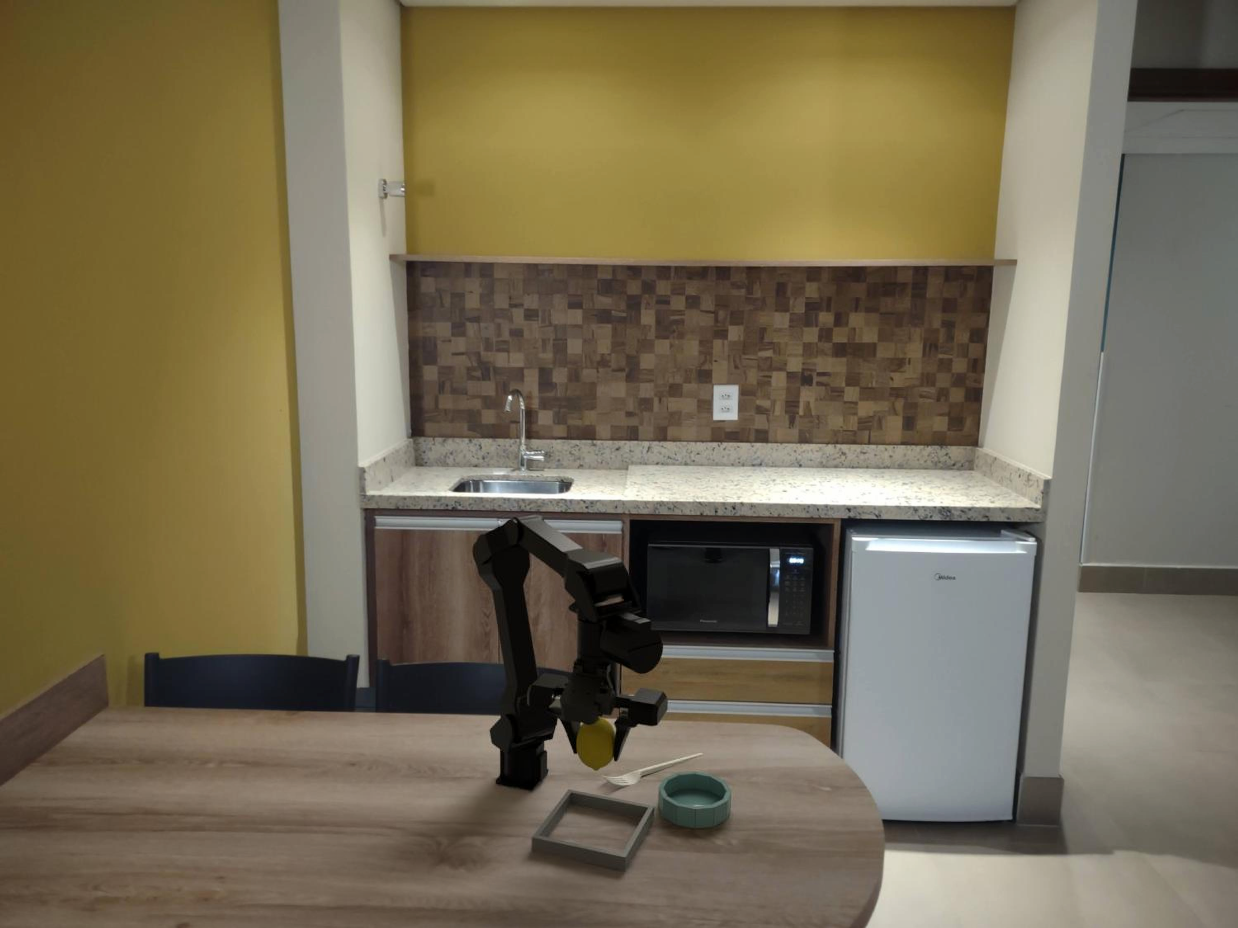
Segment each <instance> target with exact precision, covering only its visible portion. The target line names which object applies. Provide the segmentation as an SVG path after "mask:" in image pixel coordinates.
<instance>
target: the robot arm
mask: <svg viewBox="0 0 1238 928" xmlns="http://www.w3.org/2000/svg"><path fill="white" fill-rule="evenodd" d="M471 550H472V551H471V552H472V558H473V560H474V562H475V565H476V568H477V573H478V575H479V577H480V578H481V580H482V581H483V582H484V583H485V584H486V586H487V587H488V588H489V589H490V590H491V593H492V599H493V604H494V611H495V617H496V618H495V619H496V624H497V630H498V636H499V641H500V643H499V644H500V648H501V655H502V661H503V668H504V674H505V679H506V685H505V688H504V691H503V693H502V696H501V698H500V702H499V714H500V718H499V719H498V720H497V721H496V722H495V724H493V725H492V726H491V728H490V729H489V736H490V742H491V744H492V745H493V746H495V747H496V748H497V749H499V775H498V777H496V779H495V780H494V781H495V782H494V783H495V785H501V786H505V787H510V788H514V789H515V788H516V789H521V790H525V791H530V792H531V791H534V790H535V789H536V788H537V787H538V785H540V783H541V782H542V781H543V780H544V778H546V777H547V775H548V773H549V768H548V751H547V750H546V749H545V742H547V741H551V740H553V739H554V735H555V731H556V728H557V726H558V720H559V721H560V723H561V724H562V727H563V729H564V731H565V734H566V737H567V740H568V742H569V744H570V747H571V750H572V753H573V754H574V755H578V753H577V746H576V741H577V735H578V732H579V729H580V727H581V725H582V724H583V723H584V724H586V725H592V724H595V723H596V722H597V720H598V717H601V718H603V716H611V715H612V714H613V712H614V710H615V709H617V710H619V713H620V714H619V715H618V717H617V718H616V720H615V721H614V723H613V724H614V728H615V743H614V757H613V761H614V762H618V761H619V759H620V757H621V755H622V752H623V749H624V746H625V744H626V743H627V742H626V741H627V739H628V737H629V734H630V731H631V729H634V728H636V727H638V725H641V726H647V727H655V726H658V725H659V723H660V722H661V720H662V718H664V716H665V714H666V712H667V711H668V704H669V703H668V702H669V701H668V700H669V698H668V696H667V694H666V693H665V692H664V691H663V690H657V689H650V688H644V687H639V689H637V690H636V693H634V694H623V693H619V690H620V688H621V685H622V684H621V679H619V665H620V666H622V667H624V668H626V669H627V670H630V671H632V672H633V673H635V674H638V675H645V674H647V673H650V672H652V671H653V670H654V669H655V668H656V667H657V665H658V664H659V662H660V661H661V658H662V656H663V652H664V643H663V641H662V638H661V635H660V634H659V633H658V632H657V631H655V630H653V629H652V621H651V620H650V619H648V618H645V617H640V616H638V615H635V614H636V613H640V612H642V611H643V608H642V604H641V602H640V600H639V599H640V596H639V594H638V592H637V590H636V588H635V587H634V584H633V582H632V579H631V576H630V574H629V572H628V569H627V567H626V565H625V563H624V562H623V561H622V560H621V558H619V557H617V556H614V555H611V554H609V553H607V552H603V551H597V550H590V549H587V548H584V547H582V546H581V545H579V544H578V543H576V542H575V541H573V540H572V539H570V538H569V537H568V536H566V535H565V534H564V533H562V532H560V531H559V530H557V529H556V528H554V527H553V526H552V525H550V524H549V523H547V522H546V521H545V520H544V518H543V516H542V515H540V514H535V513H531V514H524V515H518V516H513V517H511V518H510V519H508V520H507V521H505V522H504V523H503V524H501V525H499V526H498V527H496V528H493V529H492V530H489V531H488V532H486V533H482V534H479V535H478V537H477V539H476V541H475V542H474V544H473V545H472V549H471ZM531 554H532V556H534V557H535V558H536V559H538V560H539V561H540V562H541V563H543V564H545V566H547V567H548V568H549V569H551V570H552V571H554V572H555V573H557V574H558V575H559V576H560V577H561V578H562V579H563V588H564V590H565V591H566V592H567V593H568V594H569V595H570V597H572V599H574V601H573V602H572V603H571V604H569V605H568V611H569V612H572V613H573V614H576V659H575V660H574V661H573V666H572V673H571V675H570V678H568V676H565V675H560V674H554V673H548V672H544V673H542V675H540V676H539V672H538V671H539V670H538V666H537V658H536V654H535V648H534V642H533V636H532V630H531V622H530V617H529V611H528V605H527V599H526V593H525V582H526V579H527V577H528V574H529V571H530V569H531V556H530V555H531ZM617 599H618V600H619V599H622V600H621V601H617V602H613V603H612V602H611V603H609V604H608V603H607V604H603V603H605V602H609V601H613V600H617Z"/></svg>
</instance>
